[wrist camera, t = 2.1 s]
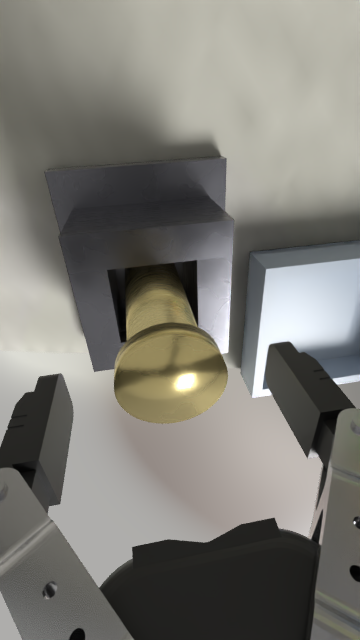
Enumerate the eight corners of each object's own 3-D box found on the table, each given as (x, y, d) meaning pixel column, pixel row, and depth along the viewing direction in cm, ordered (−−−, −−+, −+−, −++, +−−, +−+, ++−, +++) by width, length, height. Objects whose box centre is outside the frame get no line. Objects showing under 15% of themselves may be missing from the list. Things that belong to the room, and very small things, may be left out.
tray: (250, 251, 23) (266, 269, 20) (399, 235, 24) (432, 250, 21) (240, 373, 29) (252, 398, 26) (359, 355, 30) (380, 377, 28)
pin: (111, 237, 19) (104, 348, 10) (179, 231, 20) (229, 331, 11) (121, 297, 22) (123, 431, 13) (182, 290, 22) (225, 414, 13)
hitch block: (48, 169, 18) (20, 190, 13) (221, 156, 19) (258, 171, 14) (91, 340, 24) (84, 398, 19) (218, 323, 25) (242, 374, 20)
